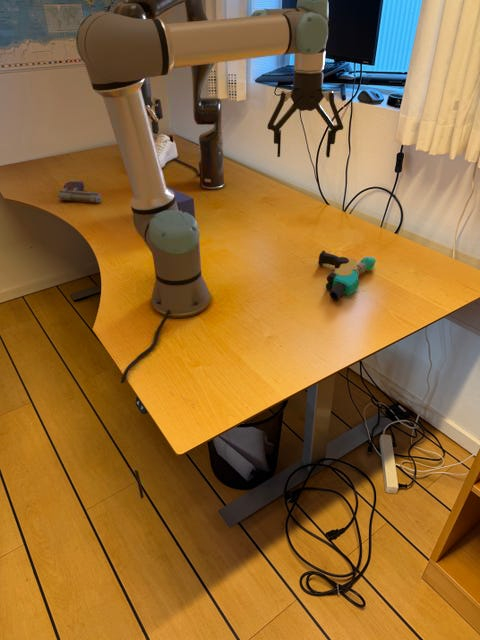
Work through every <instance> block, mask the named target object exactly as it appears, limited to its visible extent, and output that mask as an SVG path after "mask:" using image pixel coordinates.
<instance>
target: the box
mask: <svg viewBox="0 0 480 640" xmlns="http://www.w3.org/2000/svg"><path fill="white" fill-rule="evenodd" d="M166 187H167V188H169V189H171V190H172V191H173V192H174V195H175V198H176V202H177V206H178V210H179V211H182V213H184V212H186V213H188V214H190V215H192V216H193V217H194V218H195V219H196V213H195V199H194V197H192V196H190V195H188V194H186V193H184V192H181V191H179V190H177V189H174V188H172V187H170V186H168V185H166Z"/></svg>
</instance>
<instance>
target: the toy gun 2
mask: <svg viewBox="0 0 480 640" xmlns="http://www.w3.org/2000/svg"><path fill="white" fill-rule="evenodd" d="M324 264H325V265H330V266H334V270H333V271H332V272H330V273H328V275H327V277H326V281H327V283H326V284H325V288H326V290H328V291H329V296H330V298H331V300H332V301H333V302H336V303H338V302H339V301H340V300H341V299H342V298H343V297H344V294H345V295H347V296H349V295H352V294H353V293H355V292H356V290H357V289H358V287H359V284H360V280H359V276H360V275H362V274H363V273H365V272H369V271H371V270H372V269H373V268H374V267H375V265H376V259H375V257H373V256H365V257H363V258H362V259H360V262H359V263H358V261H357V259H354V258H352V257H351V258H350V257H344V256H337V255H335V254H332V253H328V252H326V250H322V251H321V252H320V253H319V256H318V266H323V265H324Z"/></svg>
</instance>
